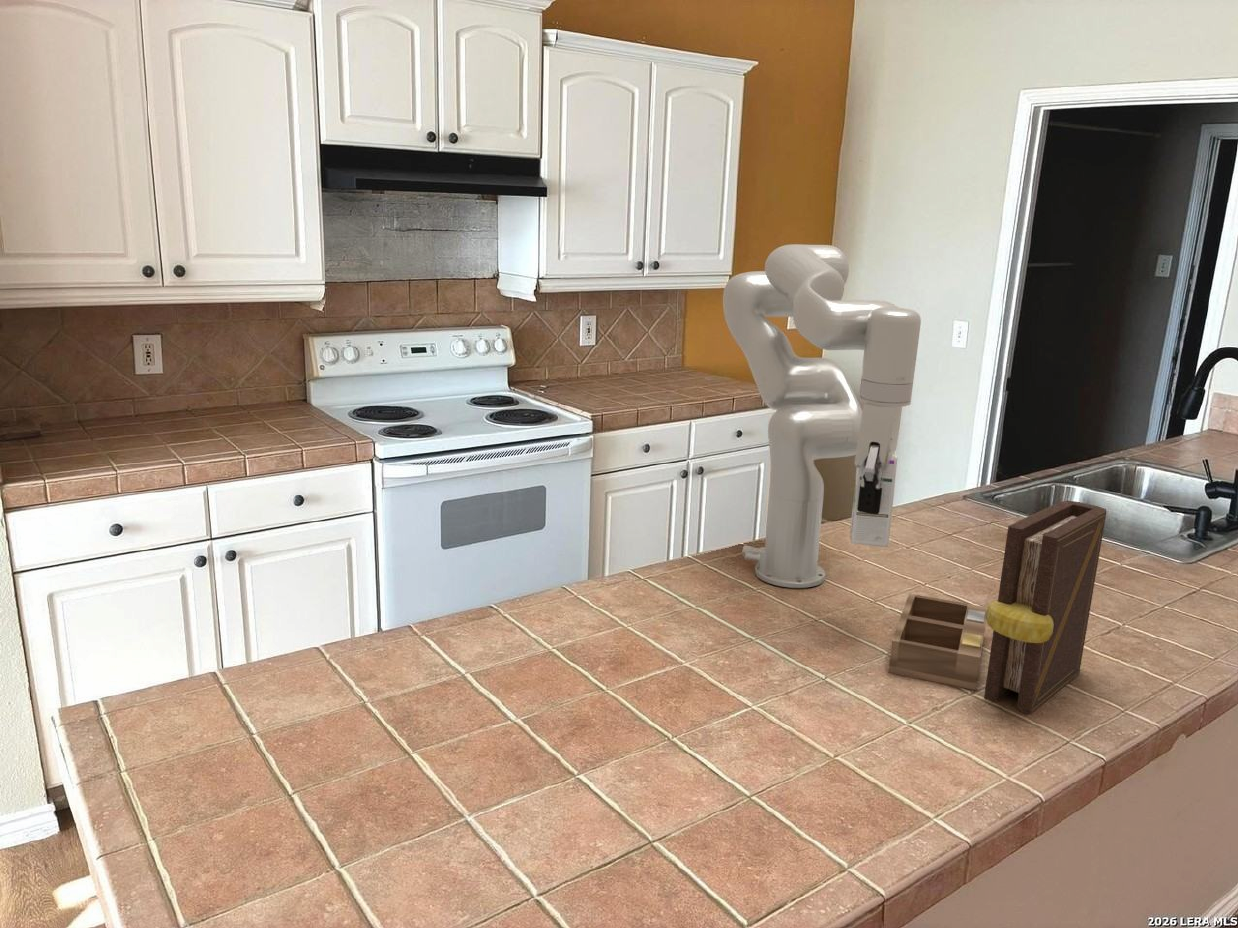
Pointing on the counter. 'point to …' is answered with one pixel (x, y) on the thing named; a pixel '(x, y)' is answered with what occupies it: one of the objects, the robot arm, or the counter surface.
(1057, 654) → the book
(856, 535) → the syrup box
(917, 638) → the socket block
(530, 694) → the counter surface
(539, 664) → the counter surface
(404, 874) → the counter surface
